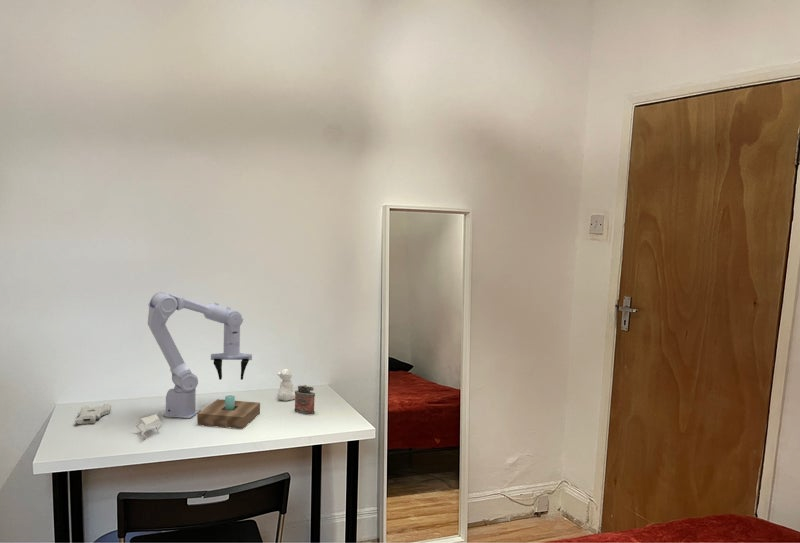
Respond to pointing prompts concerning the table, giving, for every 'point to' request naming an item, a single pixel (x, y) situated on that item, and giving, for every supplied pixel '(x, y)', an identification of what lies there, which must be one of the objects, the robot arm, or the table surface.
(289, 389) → the white creature statuette
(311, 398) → the lighter
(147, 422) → the origami figure
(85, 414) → the gun
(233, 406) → the peg
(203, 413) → the socket block
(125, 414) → the table surface
